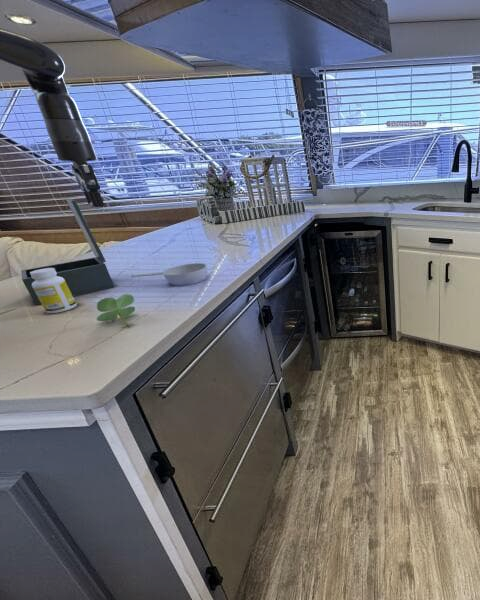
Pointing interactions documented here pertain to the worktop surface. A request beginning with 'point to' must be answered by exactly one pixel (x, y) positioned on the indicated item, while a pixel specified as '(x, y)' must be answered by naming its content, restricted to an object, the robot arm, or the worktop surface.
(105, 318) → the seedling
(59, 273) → the bin
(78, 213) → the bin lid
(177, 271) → the saucepan
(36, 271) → the supplement bottle
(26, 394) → the worktop surface
